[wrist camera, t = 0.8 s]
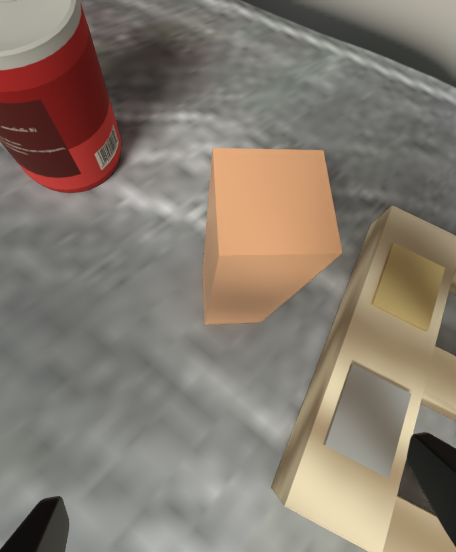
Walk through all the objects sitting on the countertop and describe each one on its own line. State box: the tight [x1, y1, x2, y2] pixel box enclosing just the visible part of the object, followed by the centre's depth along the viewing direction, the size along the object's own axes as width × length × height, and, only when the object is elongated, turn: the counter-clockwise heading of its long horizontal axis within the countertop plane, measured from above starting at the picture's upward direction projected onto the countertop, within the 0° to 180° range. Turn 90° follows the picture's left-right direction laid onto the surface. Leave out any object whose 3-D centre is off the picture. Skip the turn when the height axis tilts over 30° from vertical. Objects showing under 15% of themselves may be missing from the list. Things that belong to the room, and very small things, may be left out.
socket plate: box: [271, 205, 456, 552], centre depth 21 cm, size 20×14×3 cm
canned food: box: [0, 0, 121, 193], centre depth 20 cm, size 8×8×11 cm
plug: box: [202, 148, 342, 325], centre depth 17 cm, size 4×4×13 cm
